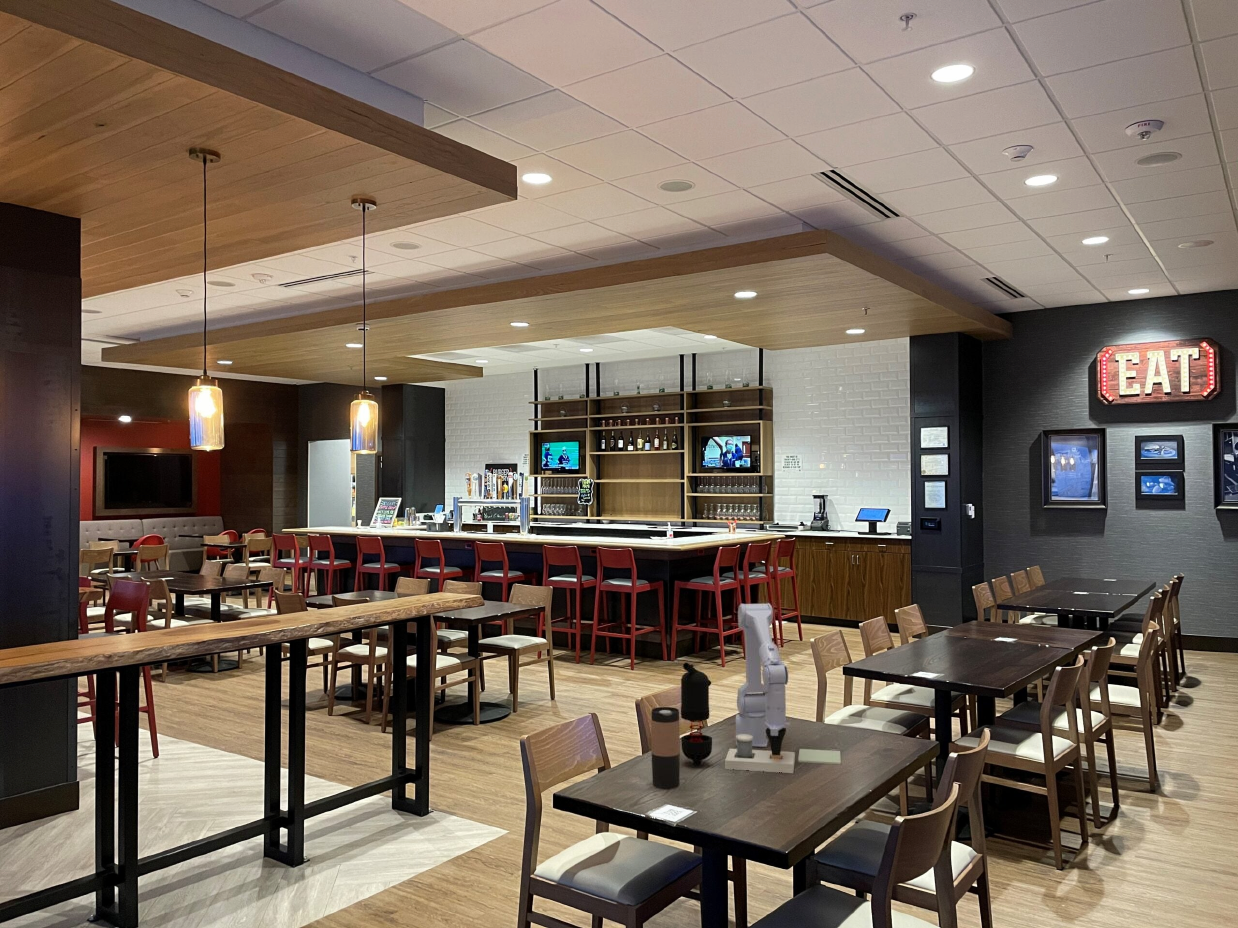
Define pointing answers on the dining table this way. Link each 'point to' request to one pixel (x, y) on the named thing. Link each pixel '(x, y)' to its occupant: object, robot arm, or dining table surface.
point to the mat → (819, 756)
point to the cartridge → (744, 746)
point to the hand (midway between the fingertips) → (776, 754)
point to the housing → (761, 761)
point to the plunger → (775, 756)
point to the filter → (695, 713)
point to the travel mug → (665, 747)
